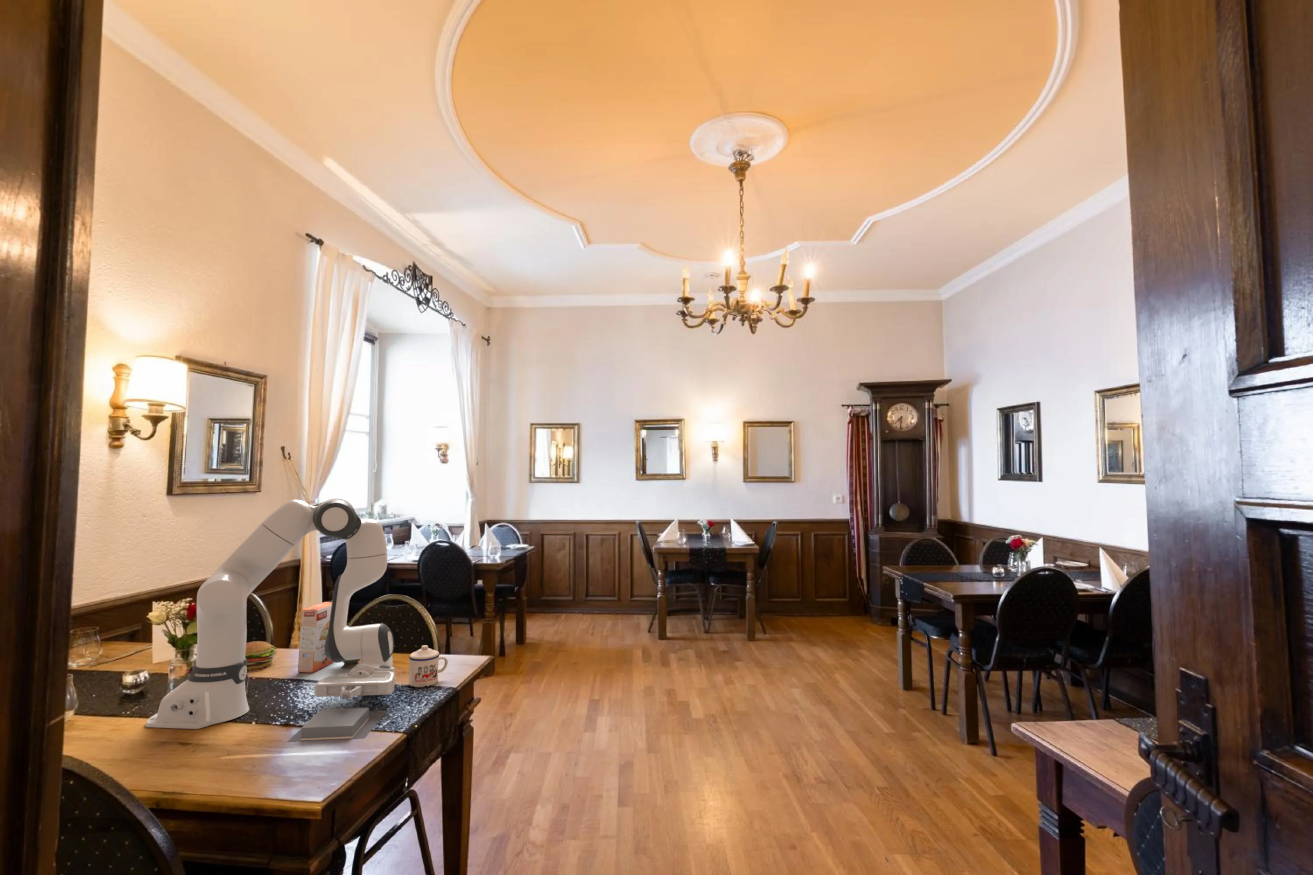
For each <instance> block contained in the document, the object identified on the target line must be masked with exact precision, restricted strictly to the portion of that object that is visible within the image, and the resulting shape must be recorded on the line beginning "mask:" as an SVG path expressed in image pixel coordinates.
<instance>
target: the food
mask: <svg viewBox="0 0 1313 875" xmlns="http://www.w3.org/2000/svg"><path fill="white" fill-rule="evenodd" d="M276 649H277V647H276V646H272V645H271V644H270V643H269V642H267V641H262V640H261V641H260V640H257V641H249V642H246V652H245V658H246V659H247V671H251V670H257V669H262V668H264V667H268V666H269V665H271V664H272V663H273V660H274V659H273V658H274V657H275V653H276Z"/></svg>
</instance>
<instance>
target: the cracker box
mask: <svg viewBox="0 0 1313 875" xmlns="http://www.w3.org/2000/svg"><path fill="white" fill-rule="evenodd" d="M331 607H332V601H324V602H320V603H317V604H314V605H312V606H309V607H306V608H303V609H301V618H300V632H299V634H300V635H299V648H298V662H297V664H298V665H297V673H304V674H305V673H308V674H309V673H312V674H313V673H315V672H317V671H319V670H321V669H323V668H325V667H327V666H328V665H331V664H333V663H334V662H333V661H332V660H330V659H329V658H328V657H327V656H326V655H325V641H326V637H327V633H328V628H329V622H330V614H331Z"/></svg>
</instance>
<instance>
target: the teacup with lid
mask: <svg viewBox="0 0 1313 875" xmlns="http://www.w3.org/2000/svg"><path fill="white" fill-rule="evenodd" d="M408 659H409V668H408V670H409V672H408V673H409V674H408V675H409V676H408V685H409V686H411V687H413V686H414V687H413V688H426V687H425V686H427V687H430V685H431V686H433V685H435V684H437V683H438V681H439V674H441V673H443V672H444V671H445V670H446V668H448V662H449V661H448V659H447V658H446V656H440V652H439V651H438V650H435V649H432V648H429V646H428V645H426V644H425V645H421V648H420V649H418V650H416V651H413V652H412V653H411V654H409V658H408ZM439 660H444V665H443V667H441V669H439Z"/></svg>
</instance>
